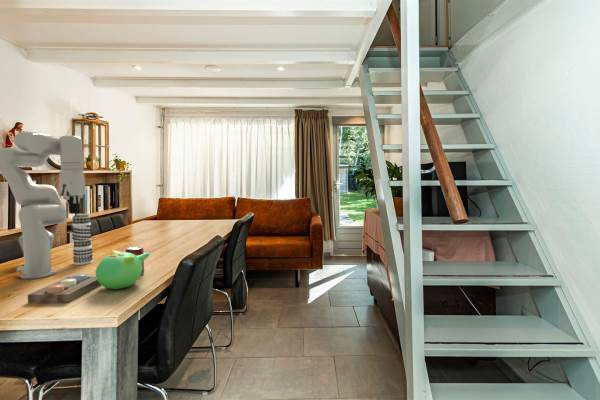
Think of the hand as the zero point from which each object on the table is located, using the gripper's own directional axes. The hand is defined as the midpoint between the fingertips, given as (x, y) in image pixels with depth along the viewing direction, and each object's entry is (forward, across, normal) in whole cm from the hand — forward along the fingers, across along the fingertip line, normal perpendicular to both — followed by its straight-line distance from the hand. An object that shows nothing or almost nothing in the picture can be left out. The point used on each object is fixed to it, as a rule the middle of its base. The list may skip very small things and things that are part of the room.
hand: (74, 213), depth 140 cm
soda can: (+29, -14, +17) cm, 37 cm away
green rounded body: (+29, +4, +20) cm, 36 cm away
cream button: (+28, +10, +3) cm, 29 cm away
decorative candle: (+29, -37, -20) cm, 51 cm away
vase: (+29, -37, -43) cm, 64 cm away
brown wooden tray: (+29, +10, +3) cm, 31 cm away
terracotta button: (+28, +17, +3) cm, 32 cm away
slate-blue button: (+28, +3, +3) cm, 28 cm away
